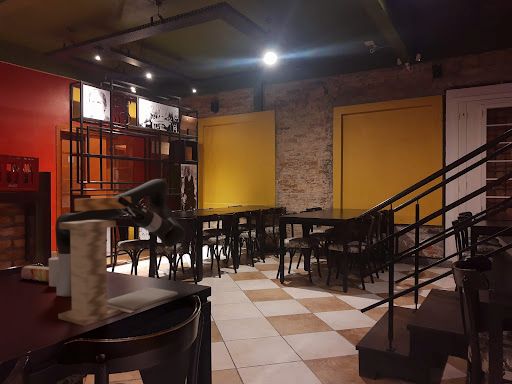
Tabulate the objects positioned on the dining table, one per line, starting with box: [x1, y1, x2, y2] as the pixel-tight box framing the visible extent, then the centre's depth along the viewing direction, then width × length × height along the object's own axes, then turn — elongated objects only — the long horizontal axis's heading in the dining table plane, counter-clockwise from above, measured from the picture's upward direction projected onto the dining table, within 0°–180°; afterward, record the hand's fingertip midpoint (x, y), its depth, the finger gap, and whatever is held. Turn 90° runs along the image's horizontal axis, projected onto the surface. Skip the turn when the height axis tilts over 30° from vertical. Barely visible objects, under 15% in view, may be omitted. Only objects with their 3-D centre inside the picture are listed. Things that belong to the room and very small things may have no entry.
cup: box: [48, 256, 58, 288], centre depth 176 cm, size 8×8×12 cm
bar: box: [74, 196, 131, 212], centre depth 136 cm, size 20×4×4 cm, turn 148°
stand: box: [57, 220, 122, 327], centre depth 131 cm, size 14×14×32 cm
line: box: [107, 305, 135, 314], centre depth 139 cm, size 2×20×1 cm, turn 58°
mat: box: [107, 286, 179, 311], centre depth 150 cm, size 23×16×1 cm
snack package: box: [20, 265, 49, 283], centre depth 185 cm, size 21×7×7 cm, turn 64°
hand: (115, 199), depth 140 cm, fingers closed on bar, 4 cm apart
